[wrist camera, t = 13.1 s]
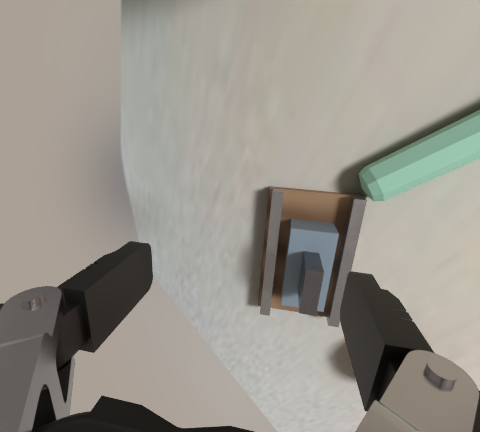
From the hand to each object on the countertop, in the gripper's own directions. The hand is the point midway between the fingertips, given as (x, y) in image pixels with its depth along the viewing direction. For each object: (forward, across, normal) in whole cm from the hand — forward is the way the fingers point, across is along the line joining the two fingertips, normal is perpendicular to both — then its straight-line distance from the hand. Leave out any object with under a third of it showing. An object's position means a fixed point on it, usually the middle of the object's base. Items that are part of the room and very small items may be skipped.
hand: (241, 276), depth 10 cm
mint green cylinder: (+29, -22, -6) cm, 37 cm away
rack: (+28, -6, +12) cm, 31 cm away
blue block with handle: (+27, -6, +12) cm, 30 cm away
